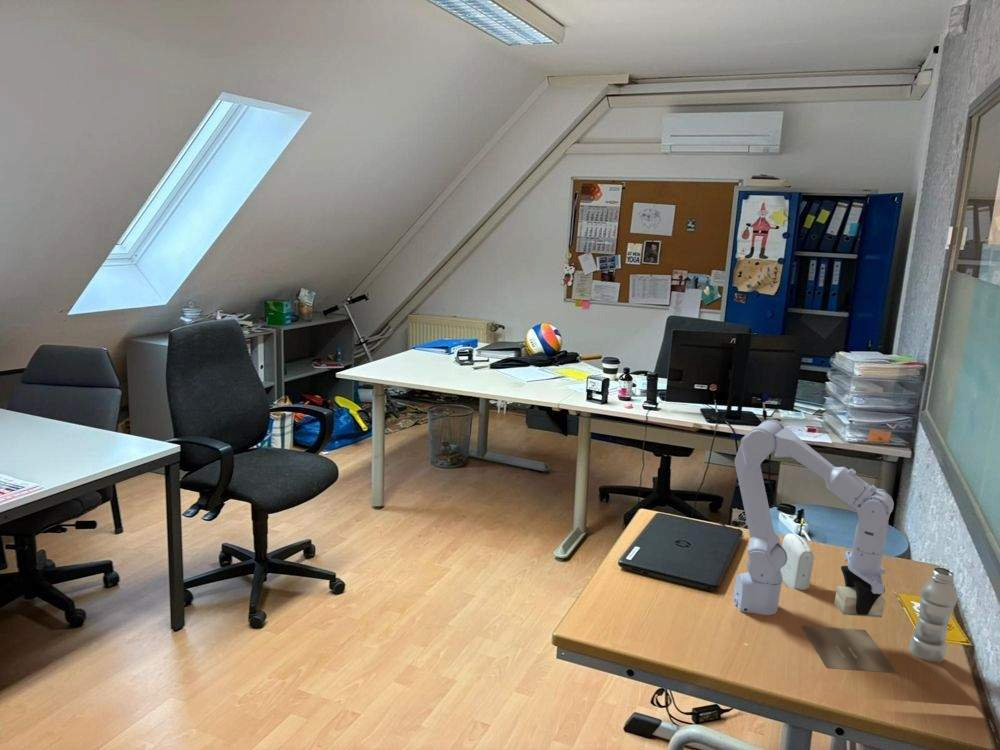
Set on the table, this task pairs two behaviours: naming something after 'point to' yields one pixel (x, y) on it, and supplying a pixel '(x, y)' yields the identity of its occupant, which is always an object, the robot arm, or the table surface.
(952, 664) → the table surface
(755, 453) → the robot arm
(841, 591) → the block
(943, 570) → the plastic bottle
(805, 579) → the photo printer
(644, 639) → the table surface
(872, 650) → the grey flat square block
